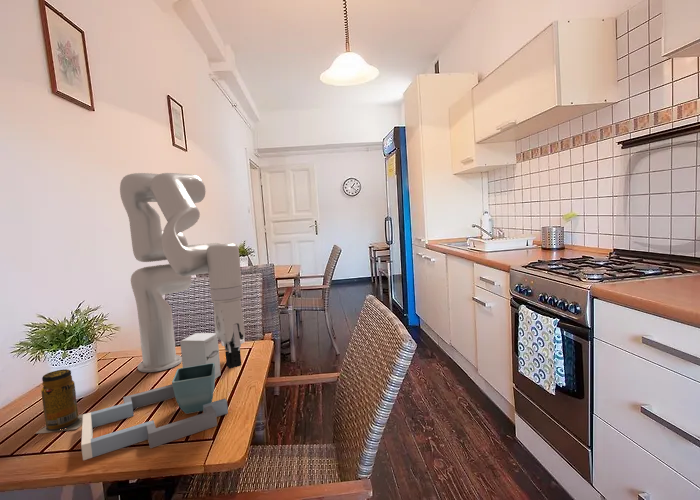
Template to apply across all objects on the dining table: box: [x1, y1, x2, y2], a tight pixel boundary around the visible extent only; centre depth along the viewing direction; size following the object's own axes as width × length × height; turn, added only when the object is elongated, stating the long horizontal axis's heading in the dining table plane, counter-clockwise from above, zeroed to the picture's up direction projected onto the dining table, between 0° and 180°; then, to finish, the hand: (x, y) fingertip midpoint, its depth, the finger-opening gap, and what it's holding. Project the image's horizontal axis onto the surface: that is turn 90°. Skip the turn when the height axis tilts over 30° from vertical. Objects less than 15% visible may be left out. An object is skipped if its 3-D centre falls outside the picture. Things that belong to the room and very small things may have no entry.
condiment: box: [35, 368, 83, 435], centre depth 87 cm, size 7×8×12 cm
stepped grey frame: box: [80, 384, 229, 461], centre depth 87 cm, size 23×28×3 cm
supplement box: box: [179, 332, 221, 380], centre depth 108 cm, size 7×7×13 cm
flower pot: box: [171, 363, 216, 415], centre depth 91 cm, size 9×9×9 cm
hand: (234, 366), depth 96 cm, fingers closed
